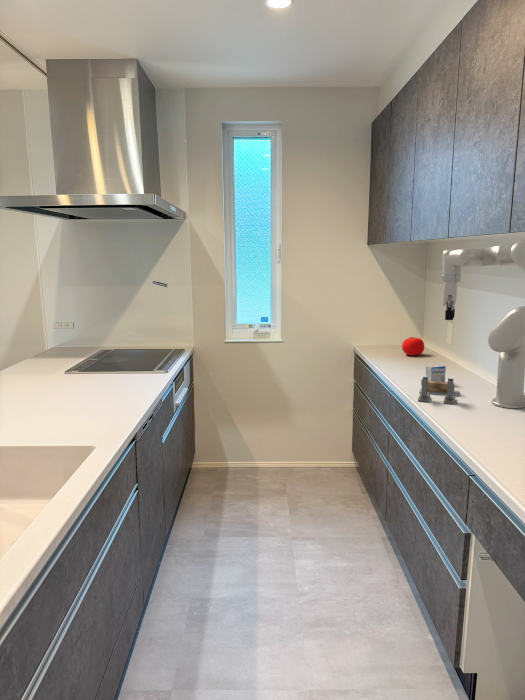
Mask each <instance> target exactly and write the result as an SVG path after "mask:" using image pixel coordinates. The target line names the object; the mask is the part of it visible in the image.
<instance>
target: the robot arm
mask: <svg viewBox="0 0 525 700" xmlns="http://www.w3.org/2000/svg"><path fill="white" fill-rule="evenodd" d="M498 265H499V266H511V265H512V266H514V265H517V266H518V267H519V268H521V270H523V271H524V272H525V239H523V240H519V241H513V242H501V243H500V244H499V245H495V246H490V247H489V246H488V247H466V248H465V247H464V248H459V249H446V250H444V251H443V252H442V268H441V270H442V274H441V283H443V297H442V298H443V299H442V305H443V307H445V314H444V320H446V321H453V320H454V318H455V311H456V309H455V306H456V304H457V298H458V286H459V285H458V284H459V283H462V281H461V280H462V267H463V268H467V267H483V266H485V267H486V266H498ZM487 338H488V339H487V343H488V346H489V348H490V349H491V350H492V351H494V352H497V353H499V355H498V363H497V364H498V365H497V379H496V395H495V397H494V398H492V399H491V404H492V405H495V406H496V407H501V408H505V409H506V408H507V409H523V408H525V391H524V389H525V305H523V306H518V307H516V308H514V309H512V310H510V311H509V312H508V313H507V314H506V315H505V316H504V317H503V319H501V321H500V322H498V324H496V326H494V328H493V329H492V330H491V332H490V333H489V335H488V337H487Z"/></svg>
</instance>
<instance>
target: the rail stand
mask: <svg viewBox="0 0 525 700" xmlns="http://www.w3.org/2000/svg"><path fill="white" fill-rule="evenodd" d="M420 381H421V388H422V394H420V393H419V396H418V398H417V402H420V403H421V402H422V403H429V401H430V399H431V394H427V384H428V377H426V376H422V379H421V380H420ZM446 382H447V396H446V395H444V399H443V404H444V405H445V404H446V405H455V403H456V396H453V383H454V378H448V379H447V381H446Z"/></svg>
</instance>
